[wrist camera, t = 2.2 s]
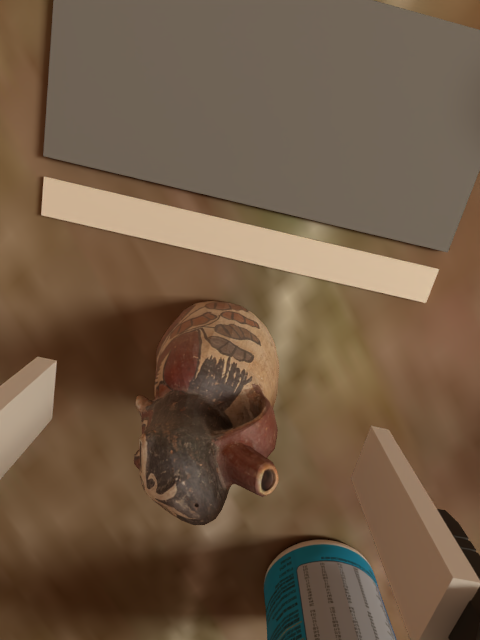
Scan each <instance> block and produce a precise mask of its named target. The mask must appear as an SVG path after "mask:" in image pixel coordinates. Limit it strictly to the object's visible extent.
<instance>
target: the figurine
mask: <svg viewBox="0 0 480 640" xmlns="http://www.w3.org/2000/svg"><path fill="white" fill-rule="evenodd" d="M156 354H157V365H156V377H155V399H154V400H152V401H151V400H149V399H147V398H146V397H144V396H142V395H138V397H137V398H136V407H137V409H138V412H139V413H140V415H141V417H142V436H141V437H140V438H139V450H138V451H137V452H136V454H135V458H134V464H135V465H136V467H137V468H138V469H139V470H140V477H141V483H142V486H143V488H144V490H145V492H146V493H147V495H148V496H149V497H150V498H151V499H152V500H153V501H154V502H156V503H157V504H159V505H160V506H161V507H162V508H164V509H165V510H166V511H168V512H169V513H171V514H172V515H174V516H175V517H177V518H179V519H180V520H182V521H185V522H187V523H190V524H193V525H205V524H207V523H209V522H211V521H213V520H214V519H216V517H217V516H218V514H219V513H220V512H221V510H222V508H223V505H224V503H225V500H226V498H227V494H228V491H229V488H230V487H231V485H232V484H237V485H239V486H241V487H243V488H245V489H247V490H249V491H251V492H253V493H255V494H257V495H259V496H261V497H263V496H266V495H268V494H270V493H272V491H273V490H274V489H275V488H276V486H277V483H278V481H279V480H278V472H277V470H276V468H275V466H274V464H273V462H271V461H270V460H269V459H267V457H268V456H269V455H270V454H271V452H272V451H273V450H274V449H275V444H276V439H277V431H278V429H277V425H276V420H275V415H274V411H273V407H274V403H275V400H276V396H277V386H278V375H279V361H278V357H277V352H276V347H275V343H274V341H273V339H272V337H271V335H270V333H269V332H268V330H267V328H266V326H265V325H264V324H263V323H262V322H261V321H260V320H259V319H258V318H257V317H256V316H255V315H254V314H253V313H252V312H250V311H248V310H247V309H245V308H243V307H242V306H240V305H235V304H231V303H227V302H218V301H206V302H200V303H196V304H193V305H192V306H190V307H188V308H186V309H185V310H183V311H182V313H181V314H180V315H179V316H178V318H177V319H176V320H175V321H174V322H173V323H172V325H171V326H170V327H169V328H168V330H167V331H166V332H165V334H164V335H163V337H162V339H161V341H160V343H159V345H158V347H157V349H156Z"/></svg>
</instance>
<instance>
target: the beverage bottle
mask: <svg viewBox="0 0 480 640" xmlns="http://www.w3.org/2000/svg"><path fill="white" fill-rule="evenodd" d="M264 597H265V605H266V621H267V640H396V637H395V634H394V631H393V629H392V626H391V623H390V620H389V617H388V615H387V612H386V609H385V606H384V603H383V600H382V597H381V594H380V592H379V589H378V585H377V582H376V579H375V576H374V573H373V570H372V568H371V566H370V564H369V563H368V561H367V560H366V559H365V558H364V556H363V555H362V554H360V553H359V552H358V551H357V550H355V549H354V548H352V547H350V546H348V545H346V544H343V543H340V542H337V541H332V540H310V541H305V542H301V543H298V544H295V545H293V546H291V547H289V548H287V549H286V550H284V551H283V552H281V553H280V554H279V555H278V556H277V557H276V558H275V559H274V560H273V561H272V563H271V564H270V566H269V568H268V570H267V572H266V575H265V580H264Z"/></svg>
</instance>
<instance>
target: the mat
mask: <svg viewBox="0 0 480 640" xmlns="http://www.w3.org/2000/svg"><path fill="white" fill-rule="evenodd" d="M43 156H45V157H49V158H53V159H58V160H62V161H66V162H70V163H74V164H79V165H83V166H87V167H91V168H95V169H100V170H104V171H108V172H112V173H116V174H121V175H125V176H129V177H133V178H137V179H142V180H146V181H150V182H154V183H159V184H163V185H167V186H171V187H175V188H180V189H184V190H188V191H192V192H196V193H201V194H205V195H209V196H213V197H217V198H222V199H226V200H230V201H234V202H238V203H243V204H247V205H251V206H255V207H259V208H264V209H268V210H272V211H276V212H280V213H285V214H289V215H293V216H297V217H301V218H306V219H310V220H314V221H318V222H322V223H327V224H331V225H335V226H339V227H343V228H348V229H352V230H356V231H360V232H364V233H369V234H373V235H377V236H381V237H385V238H390V239H394V240H398V241H402V242H406V243H411V244H415V245H419V246H423V247H427V248H432V249H436V250H440V251H444V252H448V250H449V248H450V245H451V242H452V240H453V237H454V235H455V232H456V230H457V227H458V224H459V222H460V219H461V217H462V214H463V212H464V209H465V206H466V204H467V201H468V199H469V196H470V194H471V191H472V188H473V186H474V183H475V181H476V178H477V176H478V173H479V170H480V30H478V29H474V28H471V27H467V26H463V25H460V24H456V23H453V22H449V21H445V20H442V19H438V18H435V17H431V16H427V15H424V14H420V13H417V12H413V11H409V10H406V9H402V8H399V7H395V6H391V5H388V4H384V3H381V2H377V1H373V0H54V1H53V16H52V31H51V46H50V61H49V77H48V92H47V107H46V122H45V137H44V152H43Z"/></svg>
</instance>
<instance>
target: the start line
mask: <svg viewBox="0 0 480 640" xmlns="http://www.w3.org/2000/svg"><path fill="white" fill-rule="evenodd" d="M41 215H43V216H47V217H52V218H56V219H60V220H65V221H69V222H73V223H78V224H82V225H87V226H91V227H95V228H100V229H104V230H108V231H113V232H117V233H122V234H126V235H130V236H135V237H139V238H144V239H148V240H152V241H157V242H161V243H165V244H170V245H174V246H179V247H183V248H187V249H192V250H196V251H200V252H205V253H209V254H214V255H218V256H222V257H227V258H231V259H235V260H240V261H244V262H249V263H253V264H257V265H262V266H266V267H271V268H275V269H279V270H284V271H288V272H292V273H297V274H301V275H306V276H310V277H314V278H319V279H323V280H327V281H332V282H336V283H341V284H345V285H349V286H354V287H358V288H362V289H367V290H371V291H376V292H380V293H384V294H389V295H393V296H398V297H402V298H406V299H411V300H415V301H419V302H424V303H426V302H427V299H428V296H429V294H430V291H431V289H432V286H433V284H434V281H435V278H436V276H437V273H438V271H439V269H437V268H432V267H428V266H424V265H420V264H415V263H411V262H407V261H403V260H398V259H394V258H390V257H386V256H381V255H377V254H373V253H368V252H364V251H360V250H356V249H351V248H347V247H343V246H339V245H334V244H330V243H326V242H322V241H317V240H313V239H309V238H305V237H300V236H296V235H292V234H288V233H283V232H279V231H275V230H270V229H266V228H262V227H258V226H253V225H249V224H245V223H241V222H236V221H232V220H228V219H224V218H219V217H215V216H211V215H207V214H202V213H198V212H194V211H190V210H185V209H181V208H177V207H173V206H168V205H164V204H160V203H155V202H151V201H147V200H143V199H138V198H134V197H130V196H126V195H121V194H117V193H113V192H109V191H104V190H100V189H96V188H92V187H87V186H83V185H79V184H75V183H70V182H66V181H62V180H57V179H53V178H49V177H44V181H43V196H42V211H41Z"/></svg>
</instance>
